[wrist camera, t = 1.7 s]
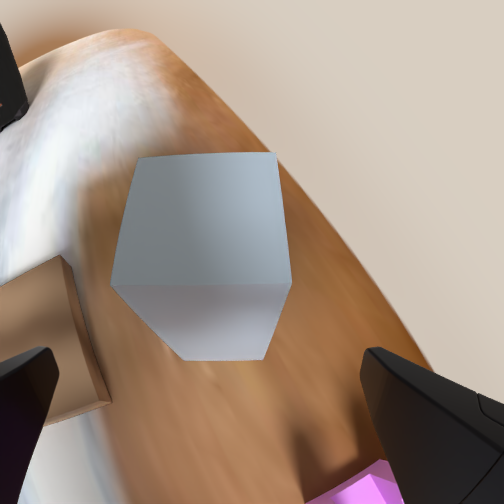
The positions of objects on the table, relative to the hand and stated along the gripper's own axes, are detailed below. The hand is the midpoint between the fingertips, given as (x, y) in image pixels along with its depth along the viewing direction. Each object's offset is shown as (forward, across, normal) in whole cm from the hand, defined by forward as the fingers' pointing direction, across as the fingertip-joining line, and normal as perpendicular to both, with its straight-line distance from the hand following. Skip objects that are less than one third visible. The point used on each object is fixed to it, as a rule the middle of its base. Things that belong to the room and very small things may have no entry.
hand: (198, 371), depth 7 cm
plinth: (+9, +15, +7) cm, 19 cm away
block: (+11, 0, +5) cm, 12 cm away
